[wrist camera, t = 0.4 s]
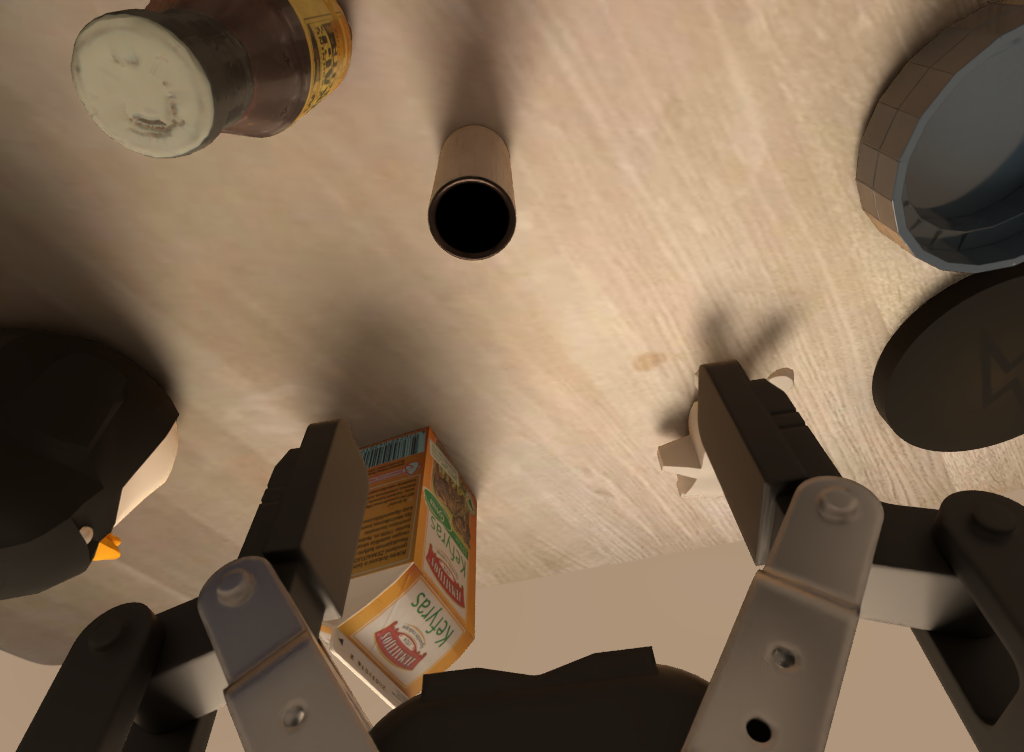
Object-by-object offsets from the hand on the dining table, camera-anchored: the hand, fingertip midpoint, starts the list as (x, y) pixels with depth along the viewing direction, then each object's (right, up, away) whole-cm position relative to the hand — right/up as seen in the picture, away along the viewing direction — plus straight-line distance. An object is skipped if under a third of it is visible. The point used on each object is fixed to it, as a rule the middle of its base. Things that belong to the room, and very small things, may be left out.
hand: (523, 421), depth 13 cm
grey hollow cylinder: (-3, +15, +25) cm, 29 cm away
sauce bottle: (-12, +21, +21) cm, 32 cm away
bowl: (+30, +17, +25) cm, 43 cm away
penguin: (-35, 0, +35) cm, 49 cm away
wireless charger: (+39, +3, +36) cm, 53 cm away
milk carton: (-11, -9, +42) cm, 44 cm away
